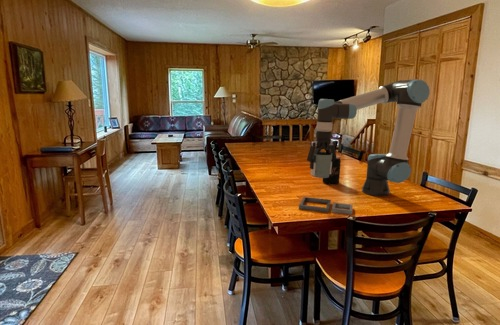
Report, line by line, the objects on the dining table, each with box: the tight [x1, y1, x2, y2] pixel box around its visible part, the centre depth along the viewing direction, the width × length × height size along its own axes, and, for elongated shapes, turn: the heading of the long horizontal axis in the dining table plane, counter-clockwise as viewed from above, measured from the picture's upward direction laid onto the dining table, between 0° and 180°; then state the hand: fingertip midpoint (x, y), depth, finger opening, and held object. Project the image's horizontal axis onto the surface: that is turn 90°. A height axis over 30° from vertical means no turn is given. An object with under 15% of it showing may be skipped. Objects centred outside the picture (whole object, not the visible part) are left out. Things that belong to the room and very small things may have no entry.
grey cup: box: [311, 150, 332, 179], centre depth 159 cm, size 10×10×12 cm
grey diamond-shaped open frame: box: [331, 202, 354, 216], centre depth 155 cm, size 9×9×2 cm
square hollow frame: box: [298, 196, 332, 214], centre depth 161 cm, size 14×14×2 cm
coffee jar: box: [322, 154, 342, 186], centre depth 204 cm, size 11×11×18 cm
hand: (320, 174), depth 160 cm, fingers closed on grey cup, 9 cm apart
